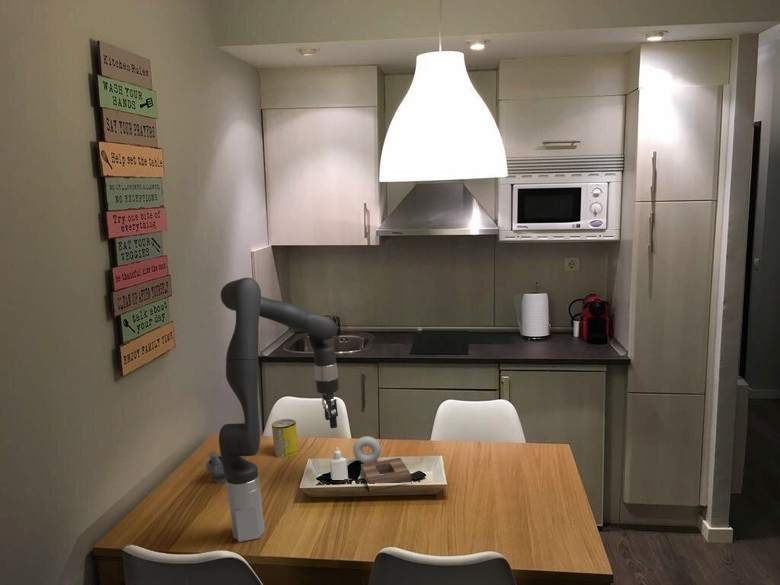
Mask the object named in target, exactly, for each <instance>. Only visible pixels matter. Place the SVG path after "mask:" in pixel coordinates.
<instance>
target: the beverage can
mask: <svg viewBox="0 0 780 585" xmlns="http://www.w3.org/2000/svg"><path fill="white" fill-rule="evenodd" d="M271 429H272V431H271V432H272V440H273V447H274V448H273V449H274V457H276V458H278V459H279V458H280V459H286V458H287V459H288V458H292V457H295V456H297V455H298V454H299V452H300V450H299V440H298V432H297V421H296V419H294V418H293V419H292V418H283V419H278V420H275V421H273V422H272V423H271Z"/></svg>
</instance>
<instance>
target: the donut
mask: <svg viewBox="0 0 780 585" xmlns="http://www.w3.org/2000/svg"><path fill="white" fill-rule="evenodd" d="M364 447H370V449H371V451H370V453H365V452H364V451H363V449H364ZM352 451H353V452H352V453H353V456H354V458H355V459H356V460H357V461H358V460H359V461H361V462H360V463H362V462H363V463H362V464H366V463H372V462H377V460H378V459H379V458H380V456H381V453H382V448H381V443H380V442H379V440H377V438H374V437H372V436H361V437H359V438H358V439H357V440H356V441H355V442H354V445H353V449H352ZM359 461H358V462H359Z"/></svg>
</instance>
